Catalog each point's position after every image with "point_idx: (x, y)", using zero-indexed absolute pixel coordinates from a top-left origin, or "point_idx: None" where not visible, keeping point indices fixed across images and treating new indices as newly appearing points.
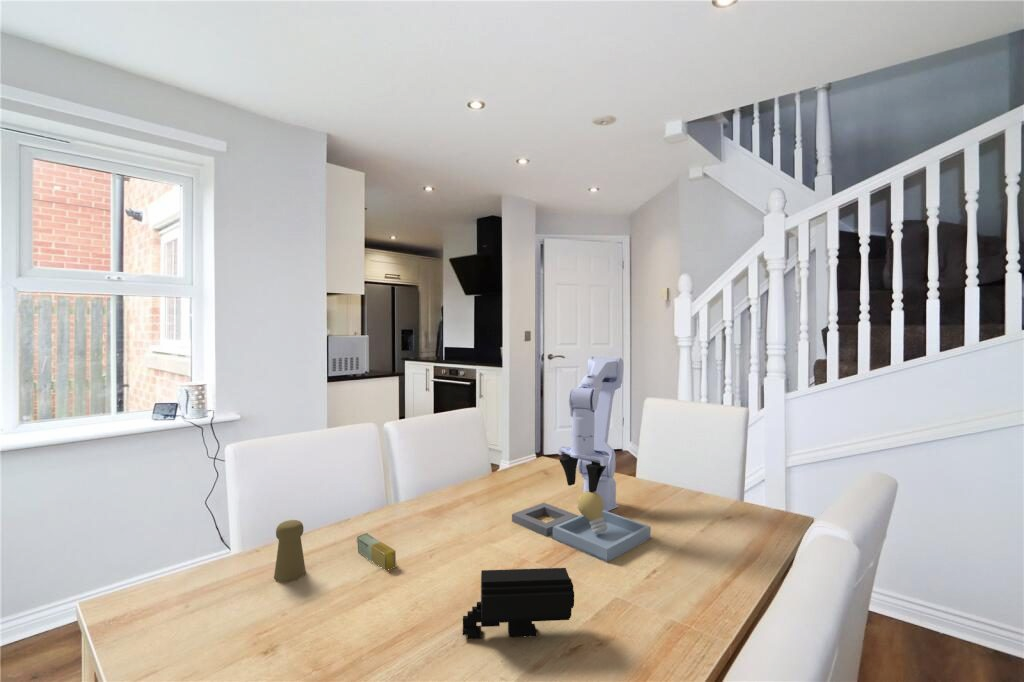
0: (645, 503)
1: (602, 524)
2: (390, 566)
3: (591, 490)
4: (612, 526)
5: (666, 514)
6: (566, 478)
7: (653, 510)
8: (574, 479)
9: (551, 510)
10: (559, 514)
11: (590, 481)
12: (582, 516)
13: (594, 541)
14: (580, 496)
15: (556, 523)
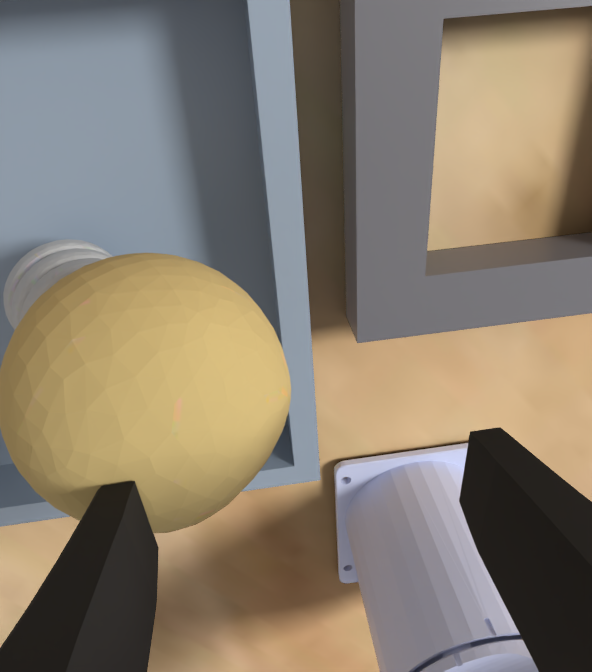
0: (290, 659)
1: (12, 313)
2: None
3: (87, 508)
4: None
5: (153, 657)
6: (567, 483)
7: (216, 645)
8: (485, 549)
9: (560, 257)
10: (478, 263)
11: (37, 633)
12: (283, 325)
13: (12, 174)
14: (208, 363)
15: (369, 96)
